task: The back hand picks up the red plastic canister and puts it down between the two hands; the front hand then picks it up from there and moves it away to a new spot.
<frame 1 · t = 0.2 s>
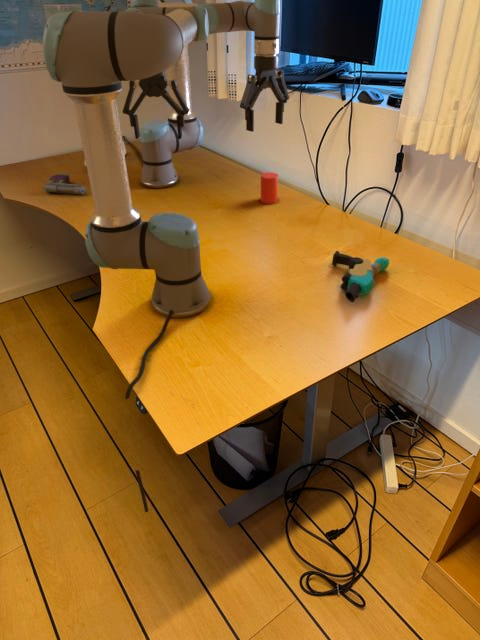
front hand: (159, 137, 149), 29 cm above the table, tool pointing down, fingers open, 13 cm apart
back hand: (264, 127, 159), 29 cm above the table, tool pointing down, fingers open, 13 cm apart
toy gun 2: (351, 281, 133), on the table
toy gun: (69, 189, 194), on the table
canister: (268, 200, 181), on the table
sneaker: (105, 162, 221), on the table
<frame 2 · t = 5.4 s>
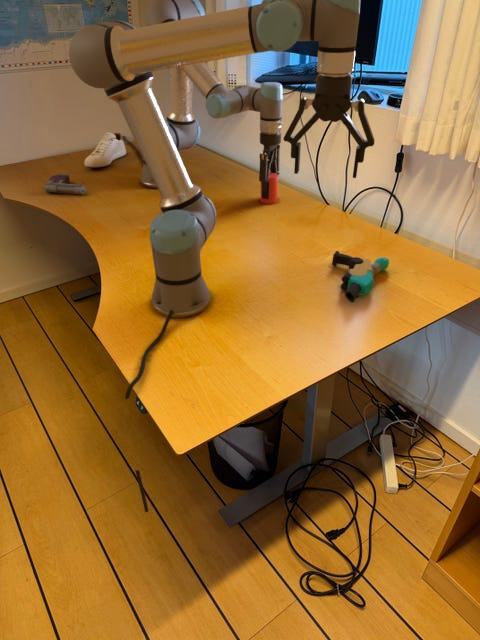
front hand: (325, 174, 112), 32 cm above the table, tool pointing down, fingers open, 13 cm apart
back hand: (268, 194, 180), 2 cm above the table, tool pointing down, fingers closed on canister, 6 cm apart
canister: (268, 200, 181), on the table, touching back hand
everything else where it was.
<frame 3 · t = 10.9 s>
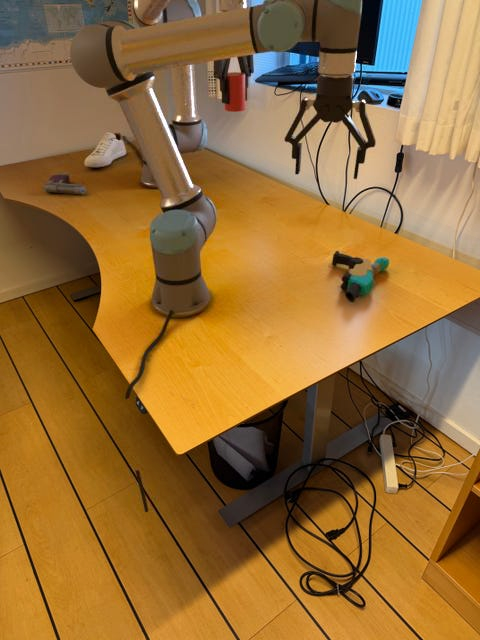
front hand: (326, 174, 112), 32 cm above the table, tool pointing down, fingers open, 13 cm apart
back hand: (234, 101, 146), 39 cm above the table, tool pointing down, fingers closed on canister, 6 cm apart
canister: (234, 109, 147), point 36 cm above the table, touching back hand
everything else where it was.
when the back hand's fingers open (3 cm above the table, at t = 16.7 s): canister drops 1 cm, on the table.
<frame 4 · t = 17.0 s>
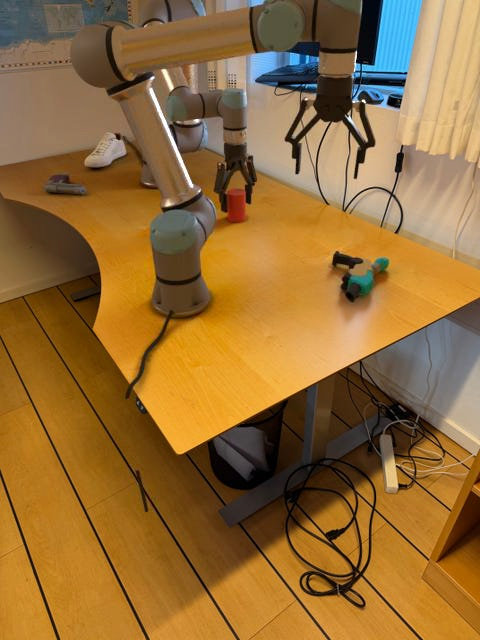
front hand: (326, 174, 112), 32 cm above the table, tool pointing down, fingers open, 13 cm apart
back hand: (236, 207, 166), 4 cm above the table, tool pointing down, fingers open, 10 cm apart
canister: (236, 218, 168), on the table
everything else where it was.
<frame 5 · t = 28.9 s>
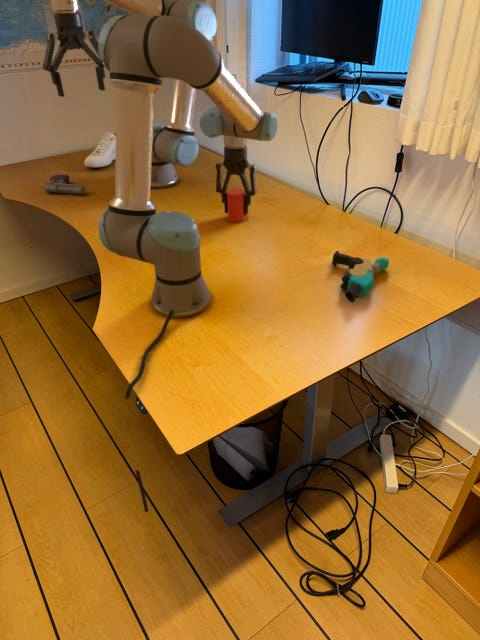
front hand: (236, 212, 167), 2 cm above the table, tool pointing down, fingers closed on canister, 6 cm apart
back hand: (82, 93, 148), 41 cm above the table, tool pointing down, fingers open, 13 cm apart
canister: (236, 218, 168), on the table, touching front hand
everything else where it was.
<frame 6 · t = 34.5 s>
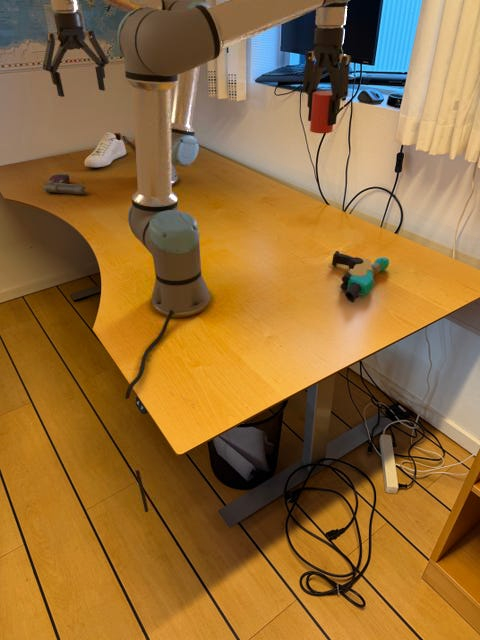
front hand: (321, 122, 134), 36 cm above the table, tool pointing down, fingers closed on canister, 6 cm apart
back hand: (82, 93, 148), 41 cm above the table, tool pointing down, fingers open, 13 cm apart
canister: (321, 130, 135), point 34 cm above the table, touching front hand
everything else where it was.
when the front hand's fingers open (3 cm above the table, at t = 40.1 s): canister drops 1 cm, on the table.
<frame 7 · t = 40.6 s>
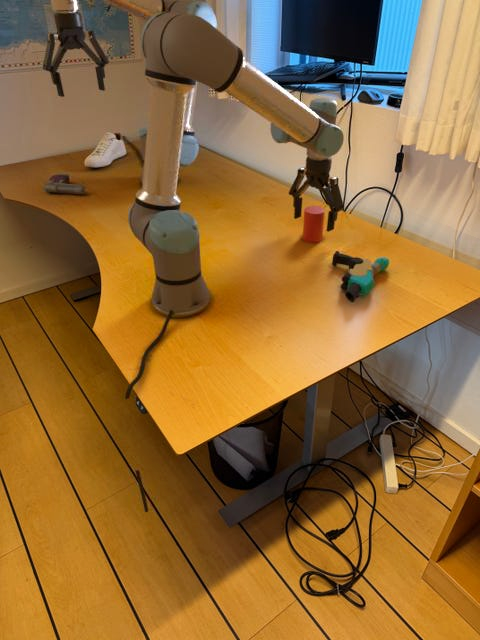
front hand: (313, 223, 152), 5 cm above the table, tool pointing down, fingers open, 13 cm apart
back hand: (82, 93, 148), 41 cm above the table, tool pointing down, fingers open, 13 cm apart
canister: (312, 238, 155), on the table
everything else where it was.
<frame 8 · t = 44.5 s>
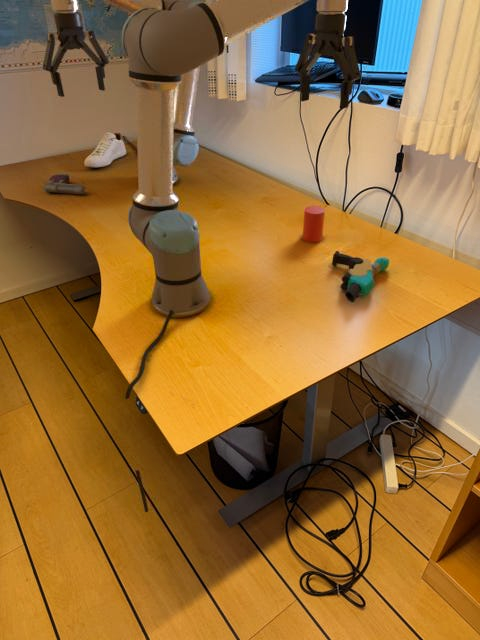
front hand: (323, 104, 131), 41 cm above the table, tool pointing down, fingers open, 13 cm apart
back hand: (82, 93, 148), 41 cm above the table, tool pointing down, fingers open, 13 cm apart
nothing on the table moved.
at the end: canister inside the target area (0.0 cm from its centre), on the table; canister tilted 0°; the two hands never held the canister at the same time; the front hand is holding nothing; the back hand is holding nothing; canister at rest at the end (0.0 cm/s) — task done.
